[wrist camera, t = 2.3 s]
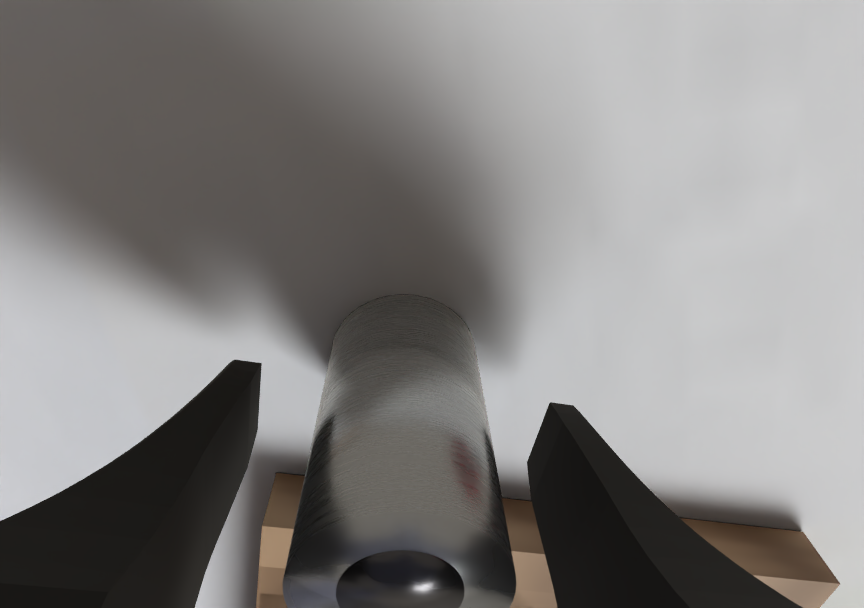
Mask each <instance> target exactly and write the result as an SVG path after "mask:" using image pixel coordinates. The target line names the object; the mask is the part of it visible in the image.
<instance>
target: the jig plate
mask: <svg viewBox="0 0 864 608" xmlns="http://www.w3.org/2000/svg"><path fill="white" fill-rule="evenodd" d="M304 478H305V476H301V475H292V474H283V473H276V476H275V480H274V483H273V487H272V491H271V494H270V498H269V502H268V505H267V509H266V513H265V517H264V520H263V524H262V532H261V546H260V559H259V573H258V587H257V600H256V608H288V607H287V605H286V603H285V600H284V595H283V578H284V573H285V568H286V564H287V559H288V554H289V549H290V545H291V540H292V535H293V530H294V526H295V521H296V516H297V511H298V507H299V502H300V497H301V492H302V488H303V483H304ZM502 501H503V507H504V512H505V518H506V523H507V529H508V534H509V540H510V546H511V551H512V557H513V562H514V568H515V573H516V592H515V596H514V599H513V602H512V604H511V606H510V607H509V608H557V603H556V598H555V593H554V589H553V584H552V580H551V577H550V573H549V569H548V565H547V561H546V557H545V553H544V549H543V545H542V541H541V537H540V534H539V530H538V526H537V522H536V517H535V513H534V509H533V505H532V501H523V500H515V499H506V498H502ZM680 519H681V520H682V521H684V522H685V523H686V524H687V525H688V526H689V527H690V528H692V529H693V530H694V531H695V532H696V533H697V534H699V535H700V536H701V537H702V538H704V539H705V540H706V541H707V542H709V543H710V544H711V545H712V546H714V547H715V548H716V549H718V550H719V551H720V552H722V553H723V554H724V555H726V556H727V557H728V558H729V559H731V560H732V561H733V562H735V563H736V564H737V565H739V566H740V567H742V568H743V569H745V570H746V571H747V572H749V573H750V574H752V575H753V576H754V577H756V578H757V579H759V580H760V581H762V582H763V583H765V584H766V585H768V586H769V587H771V588H772V589H774V590H775V591H777V592H778V593H780V594H782V595H783V596H785V597H786V598H788V599H789V600H791V601H793V602H794V603H796V604H798V605H799V606H801V607H803V608H820V607H821V605H822V604H823V603H824V602H825V601H826V600H827V599H828V597H829V596H830V595H831V594H832V593H833V592H834V591H835V589H836V588H837V587H838V586H839V585H840V583H839V582H838V580H837V579H836V577H835V576H834V575H833V573H832V572H831V570H830V569H829V568H828V566H827V565H826V563H825V562H824V561H823V559H822V558H821V556H820V555H819V554H818V552H817V551H816V549H815V548H814V547H813V545H812V544H811V542H810V541H809V540H808V538H807V537H806V535H805V534H804V532H800V531H791V530H782V529H773V528H764V527H755V526H746V525H737V524H728V523H720V522H711V521H702V520H693V519H684V518H680Z"/></svg>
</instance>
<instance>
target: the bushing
mask: <svg viewBox="0 0 864 608" xmlns="http://www.w3.org/2000/svg"><path fill="white" fill-rule="evenodd" d="M515 592H516V573H515V568H514V562H513V557H512V551H511V546H510V540H509V534H508V529H507V523H506V518H505V512H504V507H503V501H502V495H501V490H500V484H499V479H498V473H497V468H496V462H495V456H494V451H493V445H492V440H491V434H490V429H489V423H488V417H487V412H486V406H485V401H484V395H483V390H482V384H481V378H480V373H479V367H478V362H477V356H476V351H475V345H474V341H473V338H472V335H471V333H470V331H469V329H468V327H467V326H466V324H465V323H464V321H463V320H462V319H461V318H460V317H459V316H458V315H457V314H456V313H455V312H454V311H452V310H451V309H450V308H448V307H447V306H445V305H443V304H441V303H439V302H437V301H435V300H432V299H429V298H426V297H421V296H416V295H391V296H385V297H381V298H378V299H375V300H372V301H370V302H368V303H366V304H364V305H362V306H360V307H359V308H357V309H356V310H354V311H353V312H352V313H351V314H350V315H349V316H348V317H347V318H346V319H345V320H344V321H343V323H342V324H341V325H340V327H339V329H338V330H337V332H336V335H335V337H334V340H333V345H332V350H331V354H330V359H329V364H328V369H327V373H326V378H325V383H324V388H323V392H322V397H321V402H320V407H319V411H318V416H317V421H316V426H315V430H314V435H313V440H312V445H311V449H310V454H309V459H308V464H307V469H306V473H305V478H304V483H303V488H302V492H301V497H300V502H299V507H298V511H297V516H296V521H295V526H294V530H293V535H292V540H291V545H290V549H289V554H288V559H287V564H286V568H285V573H284V578H283V595H284V600H285V603H286V605H287V607H288V608H509V607H510V606H511V604H512V602H513V599H514V596H515Z"/></svg>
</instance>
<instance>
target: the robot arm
mask: <svg viewBox="0 0 864 608" xmlns="http://www.w3.org/2000/svg"><path fill="white" fill-rule="evenodd" d="M260 380H261V363H255V362H248V361H241V360H233V361H232V362H230V363H229V364H228V365H227V366H226V367H225V368H224V369H223V370H222V371H221V372H220V373H219V374H218V375H217V376H216V377H215V378H214V379H213V380H212V381H211V382H210V383H209V384H208V385H207V386H206V387H205V388H204V389H203V390H202V391H201V392H200V393H199V394H198V395H197V396H195V397H194V398H193V399H192V400H191V401H190V402H189V403H188V404H186V405H185V406H184V407H183V408H182V409H181V410H180V411H179V412H177V413H176V414H175V415H174V416H173V417H171V418H170V419H169V420H168V421H166V422H165V423H164V424H163V425H161V426H160V427H159V428H158V429H156V430H155V431H154V432H153V433H151V434H150V435H149V436H147V437H146V438H145V439H143V440H142V441H141V442H139V443H138V444H137V445H135V446H134V447H132V448H131V449H130V450H128V451H127V452H125V453H124V454H122V455H121V456H119V457H118V458H116V459H115V460H113V461H112V462H110V463H109V464H107V465H106V466H104V467H103V468H101V469H99V470H98V471H96V472H94V473H93V474H91V475H89V476H88V477H86V478H84V479H83V480H81V481H79V482H77V483H76V484H74V485H72V486H70V487H69V488H67V489H65V490H63V491H61V492H60V493H58V494H56V495H54V496H52V497H50V498H48V499H46V500H44V501H42V502H40V503H38V504H36V505H34V506H32V507H30V508H28V509H26V510H23V511H21V512H19V513H17V514H15V515H13V516H11V517H9V518H6V519H4V520H2V521H0V608H195V604H196V601H197V598H198V594H199V591H200V588H201V584H202V581H203V578H204V574H205V572H206V569H207V566H208V563H209V561H210V558H211V555H212V553H213V550H214V548H215V545H216V543H217V540H218V538H219V536H220V533H221V531H222V528H223V526H224V523H225V521H226V519H227V516H228V514H229V511H230V509H231V506H232V504H233V502H234V499H235V497H236V494H237V492H238V489H239V487H240V484H241V482H242V479H243V477H244V474H245V472H246V469H247V466H248V463H249V459H250V455H251V452H252V448H253V445H254V441H255V437H256V433H257V430H258V413H259V396H260ZM527 466H528V476H529V485H530V493H531V501H532V505H533V509H534V513H535V517H536V522H537V526H538V530H539V534H540V537H541V541H542V545H543V549H544V553H545V557H546V561H547V565H548V569H549V573H550V577H551V580H552V584H553V589H554V593H555V598H556V603H557V608H803V607H801V606H799V605H798V604H796V603H794V602H793V601H791V600H789V599H788V598H786V597H785V596H783V595H782V594H780V593H778V592H777V591H775V590H774V589H772V588H771V587H769V586H768V585H766V584H765V583H763V582H762V581H760V580H759V579H757V578H756V577H754V576H753V575H752V574H750V573H749V572H747V571H746V570H745V569H743V568H742V567H740V566H739V565H737V564H736V563H735V562H733V561H732V560H731V559H729V558H728V557H727V556H726V555H724V554H723V553H722V552H720V551H719V550H718V549H716V548H715V547H714V546H712V545H711V544H710V543H709V542H707V541H706V540H705V539H704V538H702V537H701V536H700V535H699V534H697V533H696V532H695V531H694V530H693V529H692V528H690V527H689V526H688V525H687V524H686V523H685V522H684V521H682V520H681V519H680V518H679V517H678V516H677V515H676V514H674V513H673V512H672V511H671V510H670V509H669V508H668V507H667V506H666V505H665V504H664V503H663V502H661V501H660V500H659V499H658V498H657V497H656V496H655V495H654V494H653V493H652V492H651V491H650V490H649V489H648V488H647V487H646V486H645V485H644V484H643V483H642V482H641V481H640V479H639V478H638V477H637V476H636V475H635V474H634V473H633V472H632V471H631V470H630V469H629V468H628V467H627V466H626V464H625V463H624V462H623V461H622V460H621V459H620V458H619V457H618V456H617V455H616V453H615V452H614V451H613V450H612V449H611V448H610V447H609V445H608V444H607V443H606V442H605V441H604V440H603V438H602V437H601V436H600V435H599V434H598V433H597V432H596V430H595V429H594V428H593V427H592V426H591V425H590V423H589V422H588V421H587V420H586V419H585V418H584V417H583V415H582V414H581V413H580V412H579V411H578V410H577V409H576V408H575V407H574V406H572V405H565V404H558V403H550V404H549V406H548V409H547V411H546V414H545V417H544V419H543V422H542V425H541V427H540V430H539V433H538V435H537V438H536V440H535V443H534V446H533V448H532V451H531V454H530V456H529V459H528V462H527Z"/></svg>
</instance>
